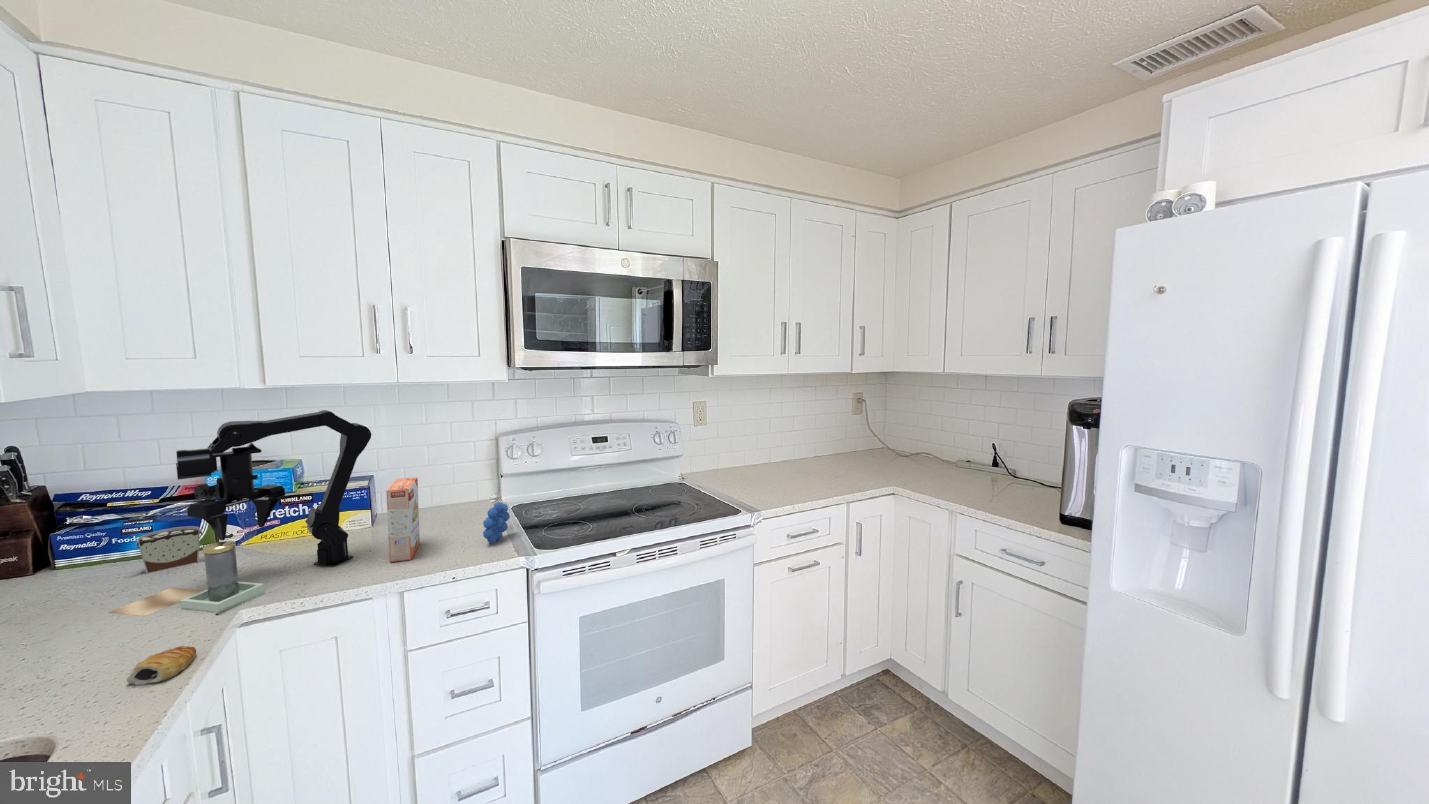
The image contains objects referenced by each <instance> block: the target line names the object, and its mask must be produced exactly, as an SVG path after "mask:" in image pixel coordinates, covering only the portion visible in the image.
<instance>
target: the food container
mask: <svg viewBox="0 0 1429 804" xmlns="http://www.w3.org/2000/svg"><path fill="white" fill-rule="evenodd" d="M203 534H204V533H203V531H202V529H200V527H199V526H194V525H192V526H191V525H188V526H178V527H177V526H176V527H170V528H164V529H160V530H155V531H151V532H149V533H146V534H143V535H141V536H139V537H137V540H136V542H135V547H134V548H135V549H136V548H137V547H139V551H140V554H141V557H142V562H143V565H144V568H145V572H146V574H149V573H155V572H159V571H163V570H168V569H172V568H176V567H177V568H178V567H180V566H186V565H190V564H193V563H199V555H200V553H199V551H200V537H201V536H200V535H203Z"/></svg>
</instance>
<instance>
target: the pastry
mask: <svg viewBox="0 0 1429 804" xmlns="http://www.w3.org/2000/svg"><path fill="white" fill-rule="evenodd" d="M196 656H197V649H196V647H194V646H189V645H188V646H184V645H179V646H176V647H173V648H169V649H166V650H164V651H162V652H158V653H155V654H152V655H149V656H148V657H146V658H145V659H144V660H141V661H139V662H137V664H136V665H135V666H134V668H133V670H132V671H131V672H130V674H129V676H128V677H127V678H126V682H127V683H128V684H130V685H131V684H135V685H134V686H140V685H139V684H142V685H147V684H152V683H153V684H154V683H155V684H156V683H162V682H163V681H166V680H170V679H172V678H173V677H176V676H177V675H179V673H180V672H182V671H184V670H185V669H187V667H189V666H190V664H191V663H192V662H193V661H194V660H195V659H196Z"/></svg>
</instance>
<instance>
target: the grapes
mask: <svg viewBox="0 0 1429 804" xmlns="http://www.w3.org/2000/svg"><path fill="white" fill-rule="evenodd" d="M508 511H509V507H508V505H507V504H506V503H502V502H500V501H497V502H496V503H495V504H494V505H493V507H491V508H489V509H488V510H487V511H486V514H487V516H488V517H486V518H485V519H484V521H483V523H482V524H483V528H485V529H484V531H483V532H482V535H483V537H484V539H486V541H487V542H488V544H493V543H495V542H497V541H500V540H501V539H502V538H503V533H504V532H506V531H507V530H508V527H509V526H508V523H507V521H509V519H510V516H511V515H510V512H508Z"/></svg>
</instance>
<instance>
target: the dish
mask: <svg viewBox="0 0 1429 804" xmlns="http://www.w3.org/2000/svg"><path fill="white" fill-rule="evenodd" d="M238 582H239V593H238V594H236V595H234V596H232V597H229V598H227V599H225V600H223V601H220V602H212V601H209V598H208V588H206V589H205V591H202V592H200V593H198V594H195V595H193V596H190V597H188V598H185V599H183V600H181V602H180V609H182V610H190V611H191V610H192V611H200V612H210V613H215V614H214V615H217V616H218V615H219V616H220V615H221V614H224V613H226V612H228V611H230V610H233V609H234V607H235V608H237V607H239V606H242V605H243V604H245V602H246V603H247V601H248V602H250V601H252V600H254V599H256V598H258V597H261V596H263V595H265V584H264V583H259V582H258V583H257V582H250V581H249V582H247V581H238ZM253 598H254V599H253ZM251 599H252V600H251ZM242 603H243V604H242ZM238 605H239V606H238ZM236 606H237V607H236ZM232 608H233V609H232Z"/></svg>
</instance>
